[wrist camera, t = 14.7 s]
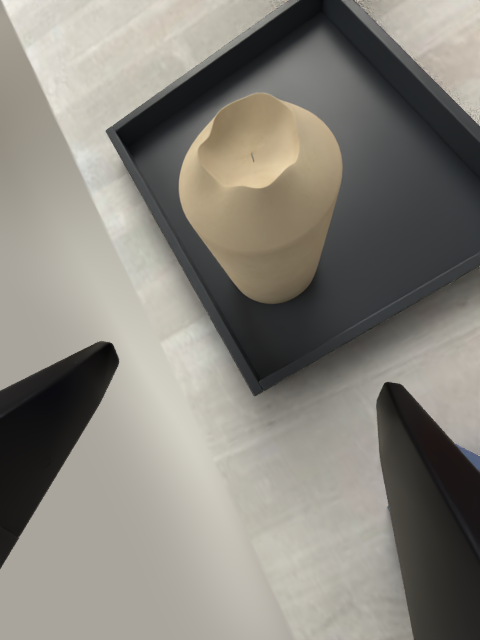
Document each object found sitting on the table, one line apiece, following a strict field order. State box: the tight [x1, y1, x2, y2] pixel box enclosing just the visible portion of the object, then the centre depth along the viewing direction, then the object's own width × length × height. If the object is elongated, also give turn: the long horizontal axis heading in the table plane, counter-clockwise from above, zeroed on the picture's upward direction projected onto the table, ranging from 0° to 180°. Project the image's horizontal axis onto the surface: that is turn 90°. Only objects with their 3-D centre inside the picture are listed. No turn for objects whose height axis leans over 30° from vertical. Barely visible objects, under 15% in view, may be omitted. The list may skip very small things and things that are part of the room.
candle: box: [179, 93, 343, 304], centre depth 13 cm, size 6×6×10 cm
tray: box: [106, 0, 480, 396], centre depth 18 cm, size 18×21×2 cm
